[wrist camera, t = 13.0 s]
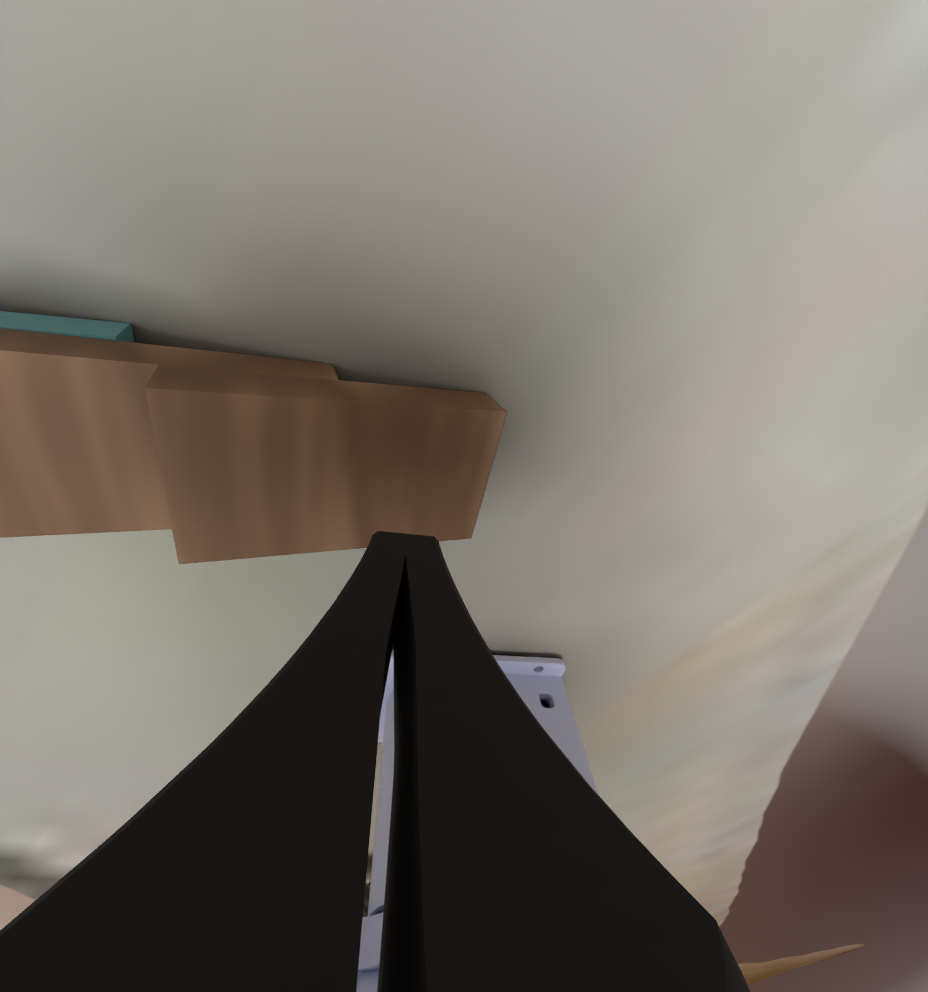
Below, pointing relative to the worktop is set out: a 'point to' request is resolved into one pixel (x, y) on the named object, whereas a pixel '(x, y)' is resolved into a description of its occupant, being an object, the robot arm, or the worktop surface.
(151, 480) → the domino
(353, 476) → the brown wooden block
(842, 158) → the worktop surface
